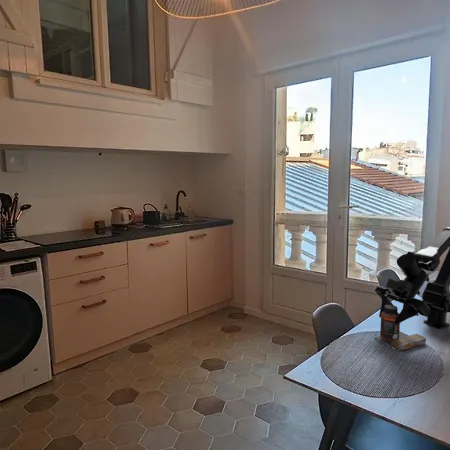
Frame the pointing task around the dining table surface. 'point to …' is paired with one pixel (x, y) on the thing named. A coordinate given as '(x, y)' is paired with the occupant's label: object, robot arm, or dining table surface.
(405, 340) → the rail
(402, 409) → the dining table surface
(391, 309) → the supplement bottle
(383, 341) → the front pad
